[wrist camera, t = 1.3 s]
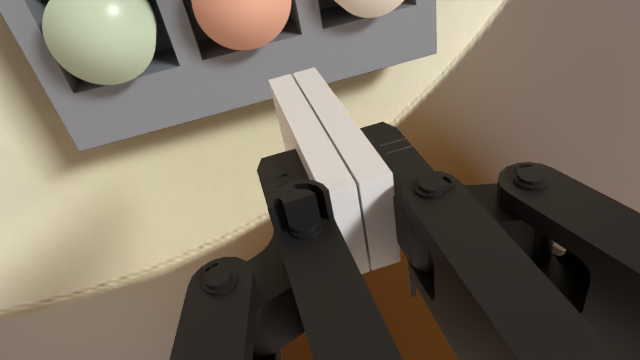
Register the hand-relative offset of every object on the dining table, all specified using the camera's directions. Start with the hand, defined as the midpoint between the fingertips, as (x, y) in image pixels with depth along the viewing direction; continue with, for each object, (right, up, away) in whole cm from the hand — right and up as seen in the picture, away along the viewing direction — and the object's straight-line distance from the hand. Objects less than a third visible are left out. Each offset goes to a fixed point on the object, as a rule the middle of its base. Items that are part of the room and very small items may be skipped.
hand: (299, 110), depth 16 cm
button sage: (-13, +8, +15) cm, 22 cm away
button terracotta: (-5, +11, +16) cm, 20 cm away
